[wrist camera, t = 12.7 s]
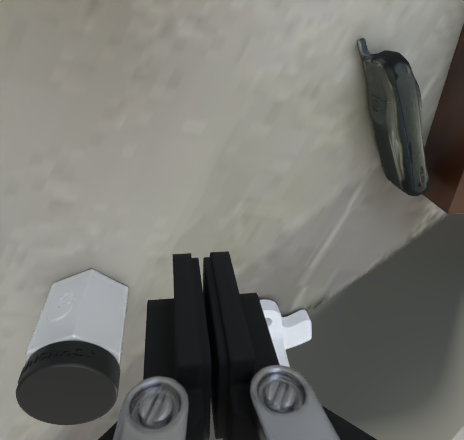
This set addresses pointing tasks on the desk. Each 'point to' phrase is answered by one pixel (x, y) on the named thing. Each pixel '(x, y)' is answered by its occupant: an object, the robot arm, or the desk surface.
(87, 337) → the jar
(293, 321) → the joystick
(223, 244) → the desk surface
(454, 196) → the wooden block
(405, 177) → the mobile phone
